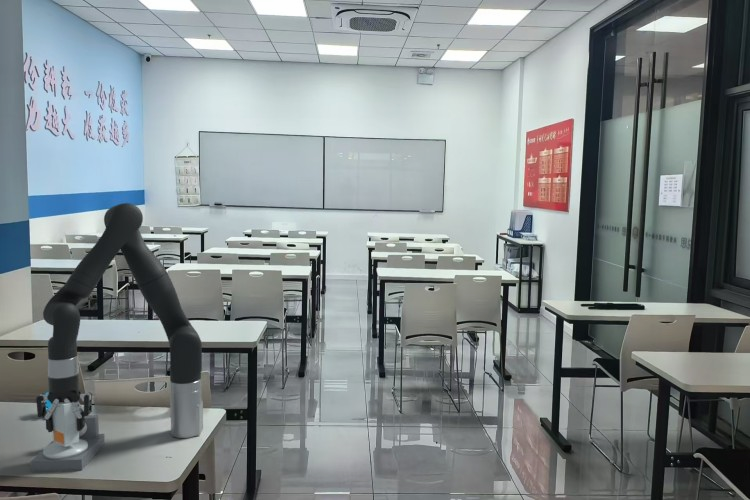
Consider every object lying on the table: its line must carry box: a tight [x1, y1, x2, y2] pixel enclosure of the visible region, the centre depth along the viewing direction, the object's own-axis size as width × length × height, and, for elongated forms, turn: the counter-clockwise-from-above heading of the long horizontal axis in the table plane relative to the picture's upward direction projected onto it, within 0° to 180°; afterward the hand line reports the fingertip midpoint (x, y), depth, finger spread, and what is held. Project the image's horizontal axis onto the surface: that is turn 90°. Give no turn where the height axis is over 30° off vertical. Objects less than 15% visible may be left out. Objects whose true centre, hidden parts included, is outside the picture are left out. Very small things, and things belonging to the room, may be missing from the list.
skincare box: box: [52, 400, 79, 447], centre depth 160 cm, size 6×4×12 cm
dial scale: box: [30, 414, 106, 473], centre depth 162 cm, size 13×17×9 cm
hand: (65, 430), depth 160 cm, fingers closed on skincare box, 7 cm apart
